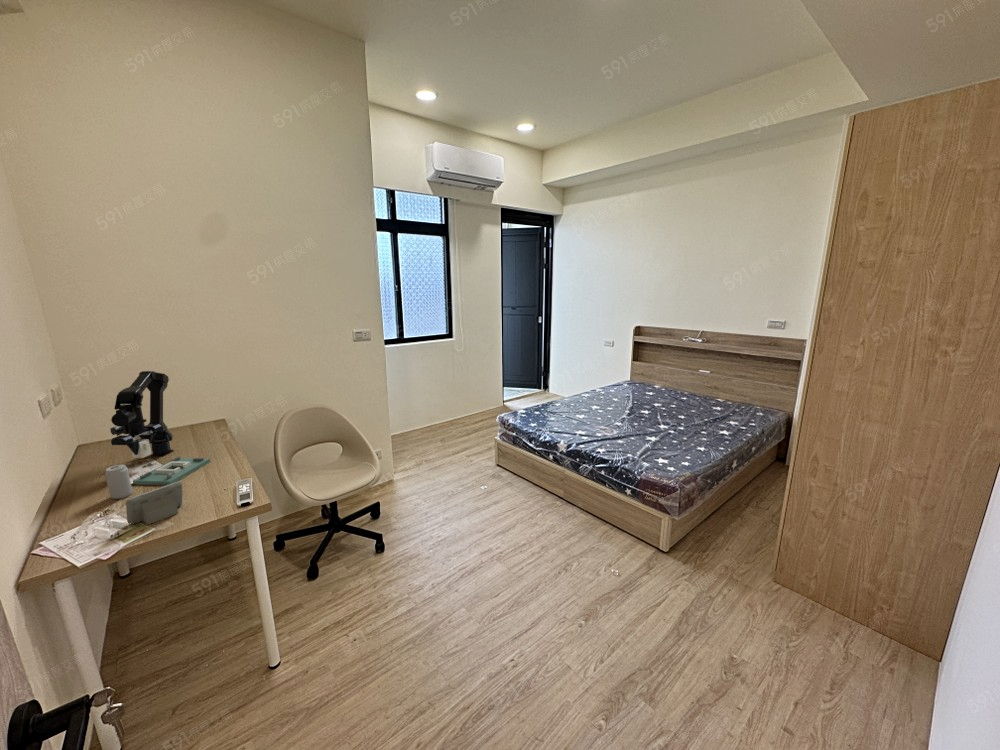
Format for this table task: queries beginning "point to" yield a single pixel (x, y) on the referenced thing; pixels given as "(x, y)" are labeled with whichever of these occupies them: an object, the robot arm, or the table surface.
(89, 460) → the table surface
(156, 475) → the board
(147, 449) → the plug
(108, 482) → the beverage can
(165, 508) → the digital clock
